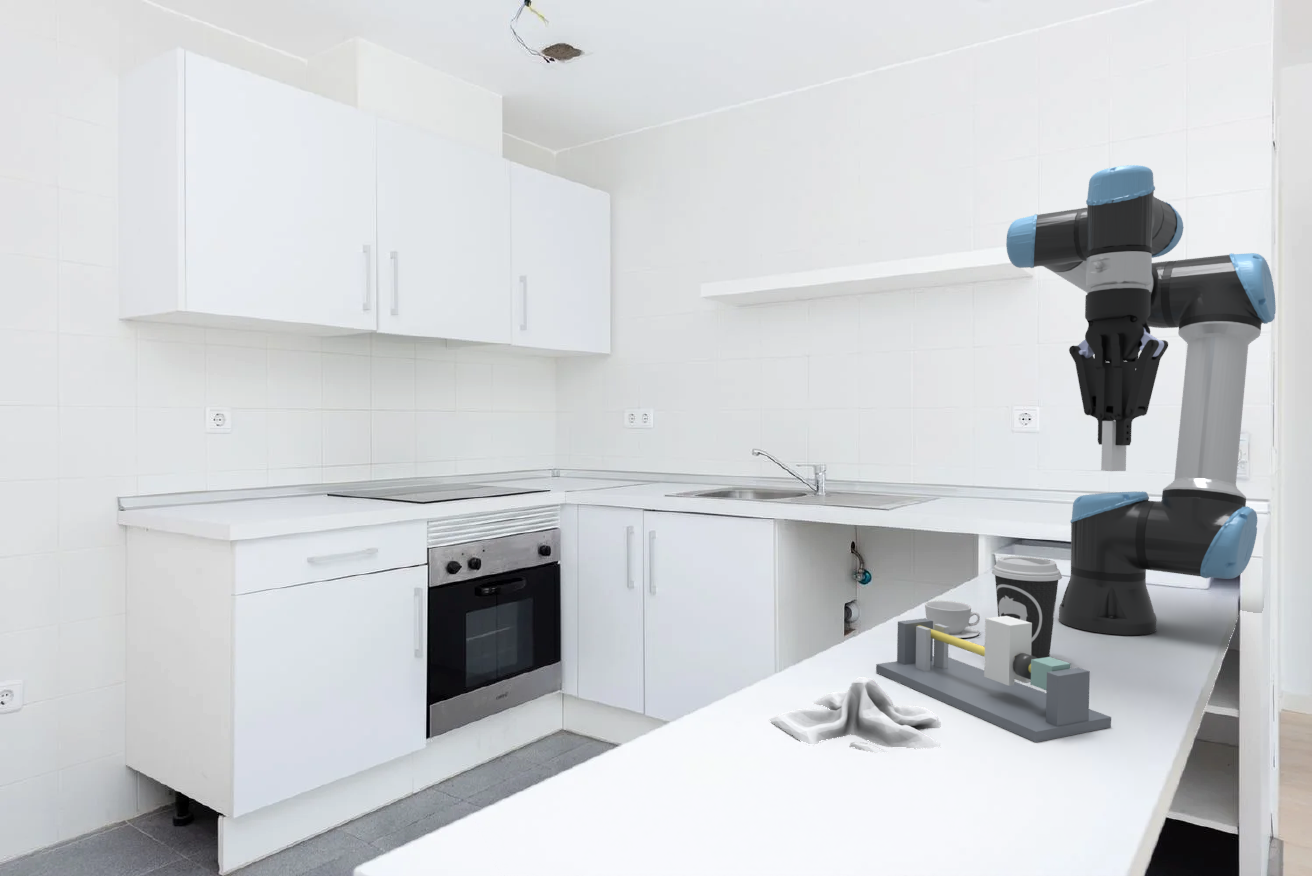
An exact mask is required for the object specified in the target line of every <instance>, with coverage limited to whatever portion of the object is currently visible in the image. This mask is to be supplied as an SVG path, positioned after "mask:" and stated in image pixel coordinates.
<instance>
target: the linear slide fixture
mask: <svg viewBox="0 0 1312 876" xmlns="http://www.w3.org/2000/svg"><path fill="white" fill-rule="evenodd" d="M896 639H897V640H896V641H897V645H896V646H897V647H896V648H897V649H896V653H897V654H896V661H891V662H882V663H877V664H876V665H875V667H876V668H875V669H876V670H875V673H876V674H879V675H881V676H883V677H885V678H888V679H889V680H892V681H894V682H897V683H899V684H902V685H904V686H906V687H908V688H910V689H913V690H915V691H918V692H919V693H922V694H924V695H926V696H928V697H932V698H933V699H936V700H938V701H940V702H942V703H945V704H947V705H950V706H951V707H954V708H956V709H958V710H961V711H963V712H965V713H968V714H970V715H973V716H975V717H977V718H979V719H982V720H984V721H986V722H988V723H991V724H993V725H995V726H998V727H1000V728H1002V729H1005V730H1006V731H1009V732H1010V733H1014V734H1016V735H1018V736H1020V737H1022V738H1024V739H1027V740H1029V741H1032V742H1034V743H1038V742H1039V743H1040V742H1044V741H1049V740H1054V739H1058V738H1059V739H1060V738H1064V737H1065V738H1066V737H1069V736H1074V735H1080V734H1084V733H1089V732H1094V731H1098V730H1099V731H1100V730H1103V729H1108V728H1112V716H1109V715H1107V714H1104V713H1102V712H1098V711H1096V710H1093V709H1090V682H1091V681H1090V679H1091V675H1090V670H1088V669H1084V668H1081V667H1071V663H1069V662H1067V661H1063V660H1061V659H1058V658H1054V657H1051V656H1049V657H1045V658H1039V659H1038V658H1037V657H1035V656H1031V655H1028V654H1025V653H1020V654H1018V655H1017V656H1016V657H1015V660H1014V662H1013V669H1014V672H1015V673H1016V674H1017V675H1019V676H1022V677H1024V678H1027V679H1031V682H1030V685H1031V686H1034V687H1036V688H1039V689H1042V690H1044V691H1041V690H1038V689H1036V688H1033V687H1030V686H1028V685H1025V684H1022V683H1020V682H1017V681H1016V680H1014V685H1011V686H1008V685H1005V684H1003V683H1000V682H997V681H995V680H992V679H989V678H987V677H984V669H981V668H980V667H979V668H978V667H976V666H974V665H971V664H968V663H966V662H962V661H960V660H957V659H954V658H952V657H949V645H951V646H953V647H956V648H959V649H962V650H965V651H967V652H970V653H974V654H976V655H979V656H982V657H984V658H985V645H984V646H983V645H980V644H977V643H974V642H971V641H969V640H966V639H963V638H957V637H954V636H951V635H949V627H947V626H944V625H941V624H934V630H933V621H932V620H929V619H927V618H917V619H916V618H915V619H907V620H898V621H897V638H896ZM1045 691H1046V692H1045Z"/></svg>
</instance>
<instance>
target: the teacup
mask: <svg viewBox="0 0 1312 876" xmlns="http://www.w3.org/2000/svg"><path fill="white" fill-rule="evenodd" d="M924 608H925V616H926V619H929V620H932V621H933V630H934V624H941V625H944V626H947V627H949V635H951V636H954V637H957V638H960V639H963V638H965V639H966V638H973V637H976V636H978V635H979V634H980V632H979V630H978V629H976V628H974V626H977V625H978V624H979V622H980V619H981V618H980V617H981V616H980V613H979V612H977V611H972V606H971V605H969V603H965V602H960V601H953V600H929V601H926V602H925V603H924ZM973 616H976V617H977V618H976V621H975V622H970V619H971V618H972V617H973Z"/></svg>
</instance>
